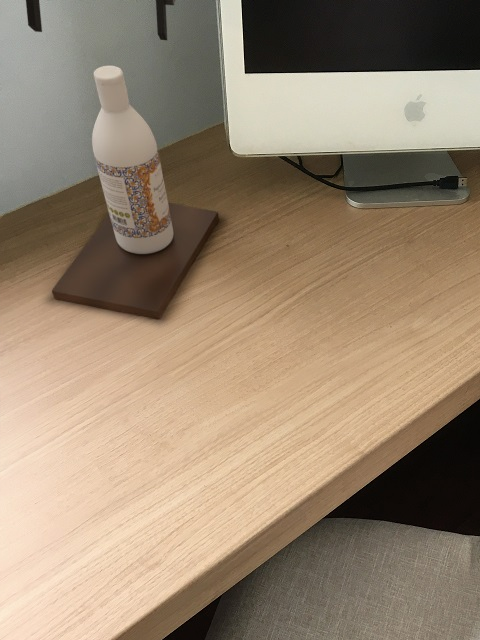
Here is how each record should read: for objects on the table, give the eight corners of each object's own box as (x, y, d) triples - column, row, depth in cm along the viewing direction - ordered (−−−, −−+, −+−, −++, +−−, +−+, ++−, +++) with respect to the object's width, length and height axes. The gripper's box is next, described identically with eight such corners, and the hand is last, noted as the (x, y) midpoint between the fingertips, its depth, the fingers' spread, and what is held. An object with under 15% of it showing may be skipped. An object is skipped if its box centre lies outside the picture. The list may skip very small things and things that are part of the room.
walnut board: (54, 298, 91) (51, 290, 90) (125, 202, 103) (123, 194, 102) (159, 319, 90) (157, 311, 89) (219, 219, 102) (218, 211, 101)
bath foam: (162, 260, 94) (127, 93, 78) (107, 251, 95) (61, 83, 79) (182, 226, 98) (152, 60, 82) (129, 218, 99) (89, 51, 83)
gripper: (-62, -238, 75) (-32, 16, 82) (204, -209, 78) (211, 32, 85) (-34, -198, 82) (-9, 33, 89) (209, -173, 85) (216, 48, 92)
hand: (99, 33), depth 87 cm, fingers open, 13 cm apart
